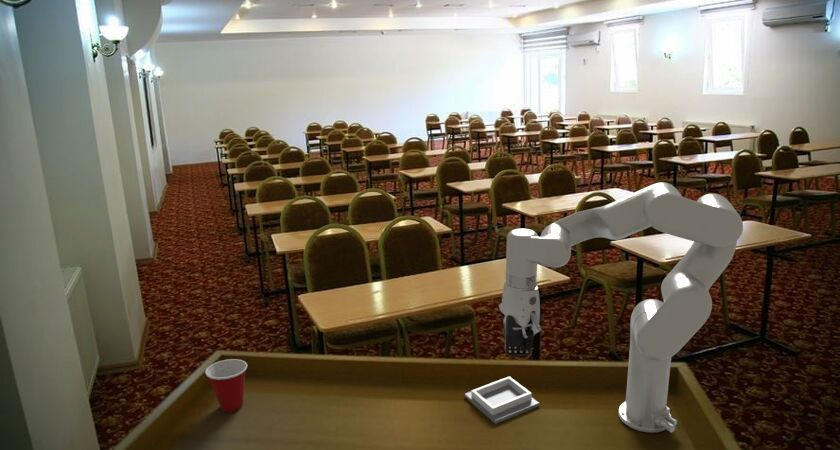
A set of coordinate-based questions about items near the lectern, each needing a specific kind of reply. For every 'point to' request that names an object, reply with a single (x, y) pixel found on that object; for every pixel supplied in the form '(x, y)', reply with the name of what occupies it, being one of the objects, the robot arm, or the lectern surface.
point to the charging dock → (502, 399)
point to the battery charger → (514, 338)
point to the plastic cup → (228, 383)
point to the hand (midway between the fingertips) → (517, 343)
